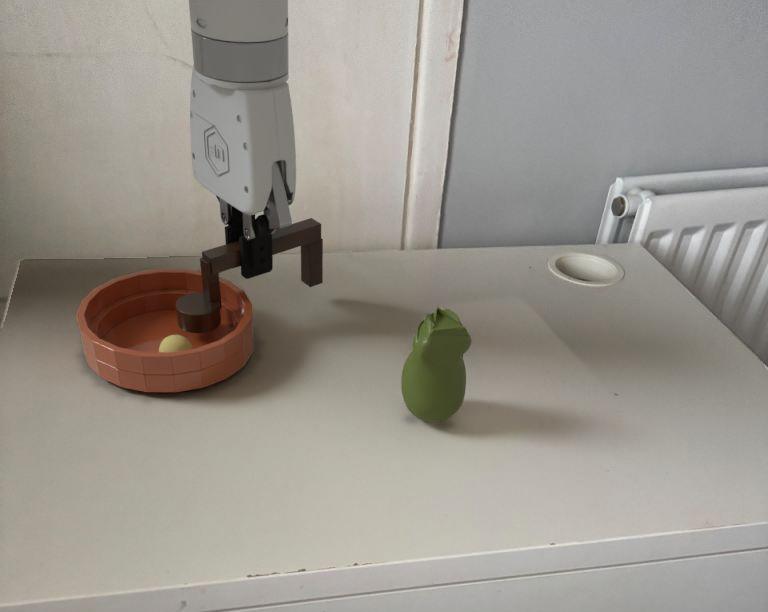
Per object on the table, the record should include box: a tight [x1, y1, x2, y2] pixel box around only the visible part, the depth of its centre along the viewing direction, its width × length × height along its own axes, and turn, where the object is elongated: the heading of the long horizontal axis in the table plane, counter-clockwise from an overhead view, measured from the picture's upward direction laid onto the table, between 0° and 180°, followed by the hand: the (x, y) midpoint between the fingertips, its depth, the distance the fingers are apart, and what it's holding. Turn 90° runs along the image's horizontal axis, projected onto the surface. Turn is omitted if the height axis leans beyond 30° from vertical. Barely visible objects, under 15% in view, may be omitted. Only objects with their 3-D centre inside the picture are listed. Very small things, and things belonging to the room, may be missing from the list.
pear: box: [400, 306, 472, 423], centre depth 70 cm, size 6×5×10 cm
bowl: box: [75, 268, 255, 393], centre depth 77 cm, size 15×15×4 cm
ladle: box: [176, 217, 324, 333], centre depth 79 cm, size 16×4×6 cm, turn 130°
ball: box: [159, 335, 193, 352], centre depth 75 cm, size 3×3×3 cm
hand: (249, 267), depth 79 cm, fingers closed on ladle
